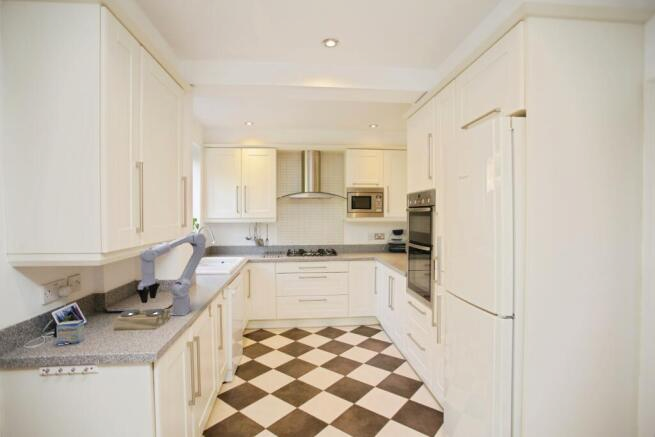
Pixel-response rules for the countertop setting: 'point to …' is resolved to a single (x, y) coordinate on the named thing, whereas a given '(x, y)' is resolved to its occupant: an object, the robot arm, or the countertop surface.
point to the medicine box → (70, 332)
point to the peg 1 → (130, 313)
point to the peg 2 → (155, 312)
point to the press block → (141, 321)
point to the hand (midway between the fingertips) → (148, 300)
